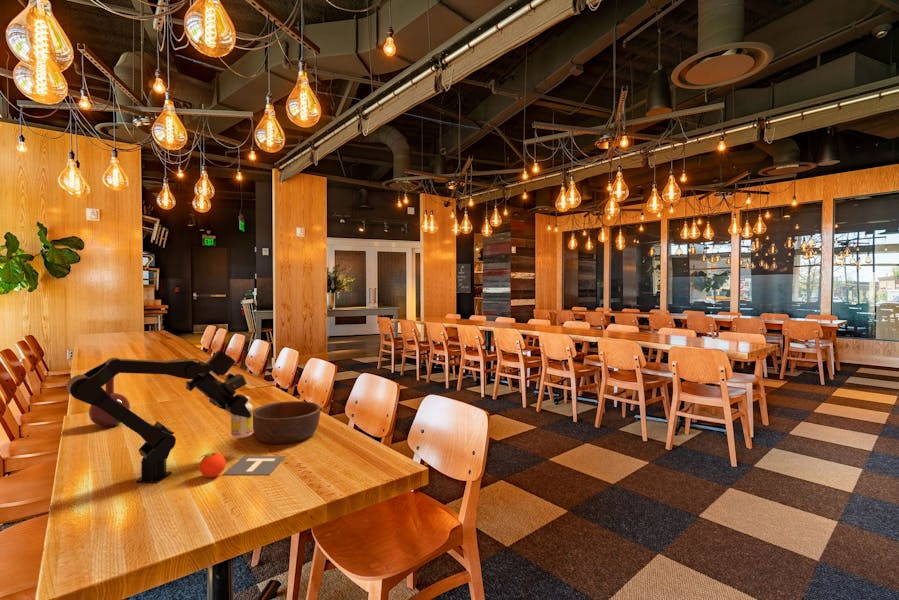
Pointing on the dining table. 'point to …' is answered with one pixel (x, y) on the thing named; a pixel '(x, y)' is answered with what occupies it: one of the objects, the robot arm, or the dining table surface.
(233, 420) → the supplement bottle
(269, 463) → the letter tile
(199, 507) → the dining table surface
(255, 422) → the wooden bowl
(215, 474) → the clementine
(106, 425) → the round-bottom flask
